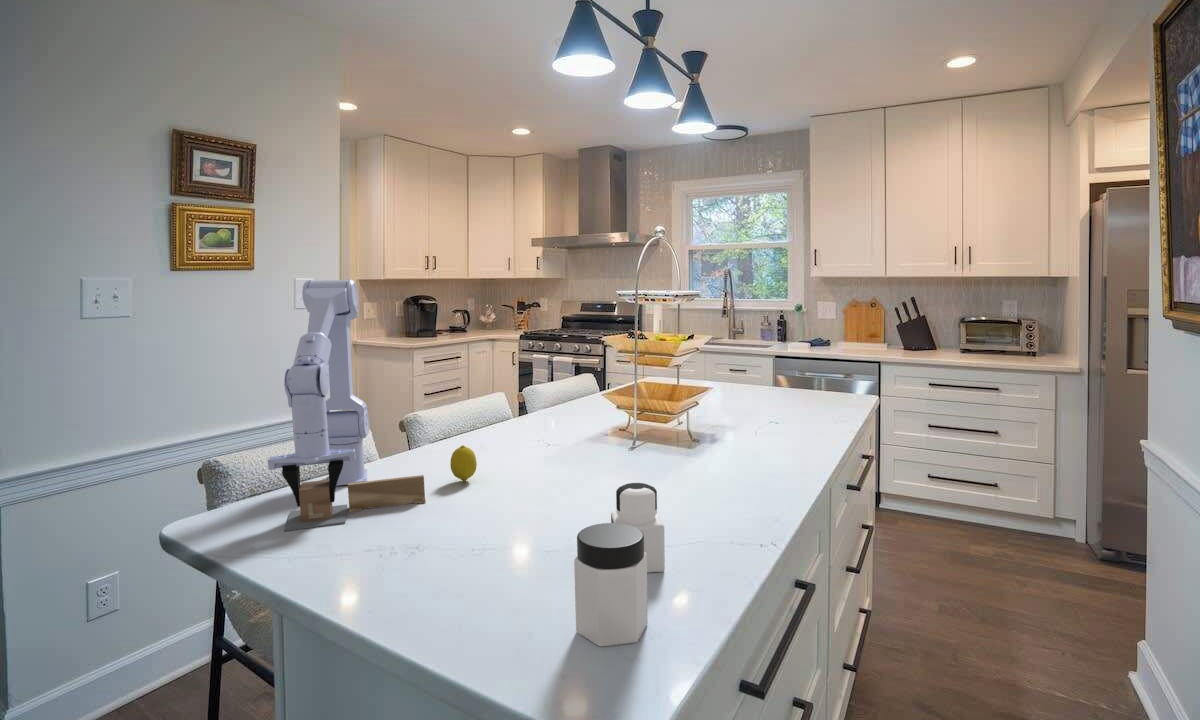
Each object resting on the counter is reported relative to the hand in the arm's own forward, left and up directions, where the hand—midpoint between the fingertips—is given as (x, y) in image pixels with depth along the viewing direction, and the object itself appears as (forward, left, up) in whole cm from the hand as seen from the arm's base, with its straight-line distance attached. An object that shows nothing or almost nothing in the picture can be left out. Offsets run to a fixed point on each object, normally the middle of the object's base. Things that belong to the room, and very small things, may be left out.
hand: (316, 502), depth 120 cm
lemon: (-12, +29, -3) cm, 31 cm away
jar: (+56, +38, -3) cm, 67 cm away
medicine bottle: (+40, +48, -3) cm, 62 cm away
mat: (0, 0, -3) cm, 3 cm away
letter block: (0, 0, -3) cm, 3 cm away
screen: (-3, +13, -3) cm, 13 cm away
